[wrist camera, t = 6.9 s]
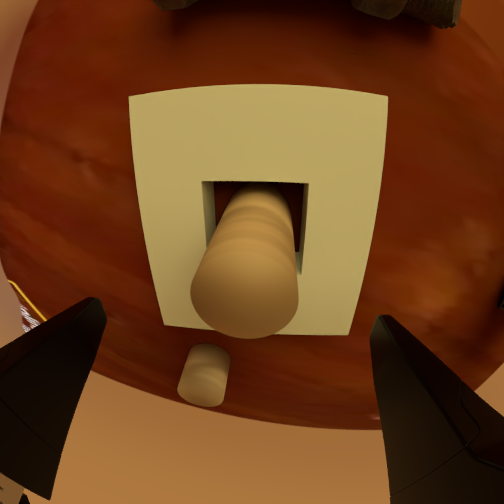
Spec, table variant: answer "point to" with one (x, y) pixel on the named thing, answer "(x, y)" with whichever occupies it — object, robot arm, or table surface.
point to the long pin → (249, 266)
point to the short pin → (205, 375)
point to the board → (261, 169)
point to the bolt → (380, 9)
